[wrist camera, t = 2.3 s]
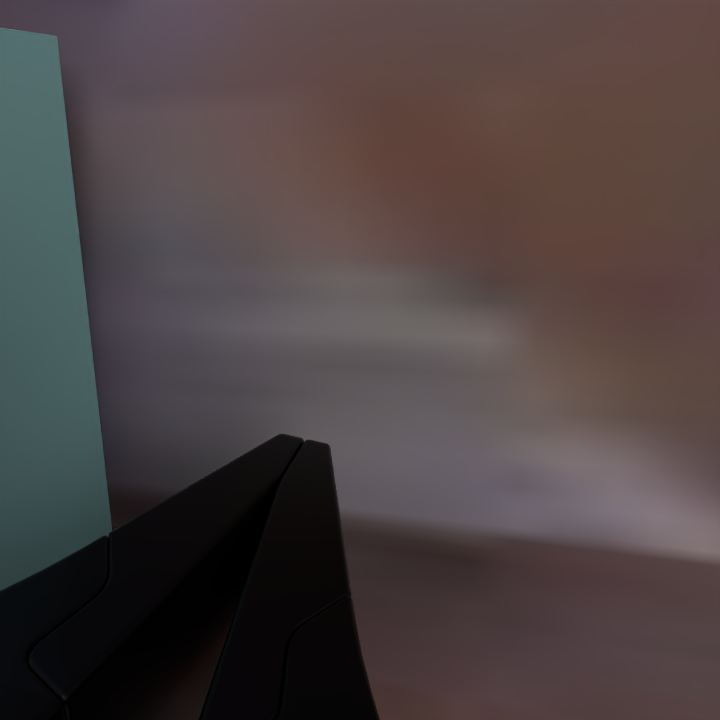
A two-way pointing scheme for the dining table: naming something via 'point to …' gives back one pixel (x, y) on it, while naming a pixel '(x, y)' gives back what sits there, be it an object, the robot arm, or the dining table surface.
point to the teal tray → (43, 327)
